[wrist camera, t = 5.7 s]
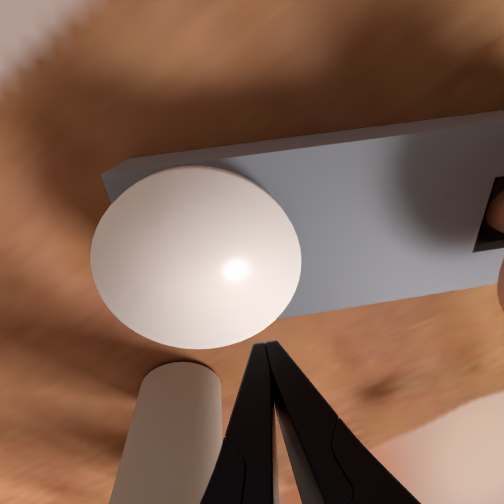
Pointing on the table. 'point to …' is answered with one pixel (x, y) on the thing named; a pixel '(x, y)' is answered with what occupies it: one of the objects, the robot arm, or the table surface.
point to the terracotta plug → (500, 218)
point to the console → (371, 205)
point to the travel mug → (171, 437)
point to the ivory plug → (196, 258)
